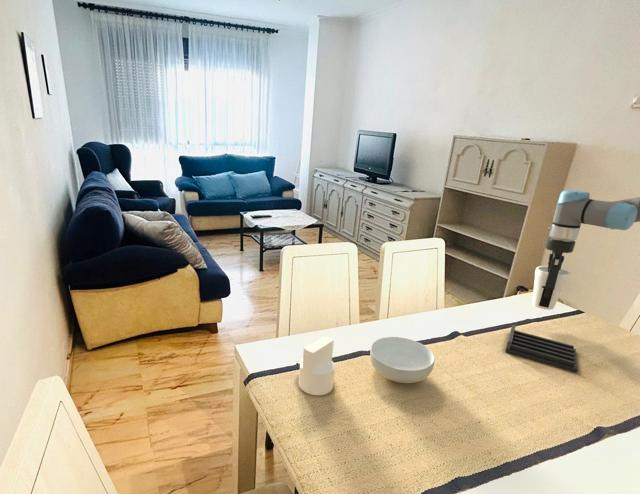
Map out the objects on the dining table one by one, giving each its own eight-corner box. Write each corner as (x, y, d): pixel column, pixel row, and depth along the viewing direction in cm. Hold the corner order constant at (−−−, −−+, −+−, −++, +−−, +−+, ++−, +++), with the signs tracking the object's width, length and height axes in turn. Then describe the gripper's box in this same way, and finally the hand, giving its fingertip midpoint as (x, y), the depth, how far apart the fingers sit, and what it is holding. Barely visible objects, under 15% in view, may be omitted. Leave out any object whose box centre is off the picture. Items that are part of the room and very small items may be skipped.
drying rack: (574, 352, 120) (578, 341, 119) (576, 373, 110) (580, 361, 108) (509, 334, 130) (512, 324, 129) (505, 352, 119) (508, 341, 118)
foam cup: (531, 298, 140) (540, 264, 135) (561, 306, 133) (572, 271, 129) (523, 305, 133) (533, 269, 129) (555, 314, 127) (566, 277, 123)
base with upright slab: (319, 400, 94) (322, 358, 90) (291, 384, 100) (293, 343, 96) (339, 384, 101) (344, 344, 96) (312, 369, 106) (315, 331, 102)
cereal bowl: (381, 350, 117) (384, 330, 115) (437, 370, 108) (442, 348, 106) (357, 377, 104) (360, 354, 101) (419, 402, 95) (424, 378, 93)
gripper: (548, 230, 136) (532, 289, 143) (547, 243, 119) (529, 309, 126) (574, 234, 132) (557, 294, 139) (577, 247, 115) (556, 315, 122)
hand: (544, 301), depth 133 cm, fingers closed on foam cup, 9 cm apart
